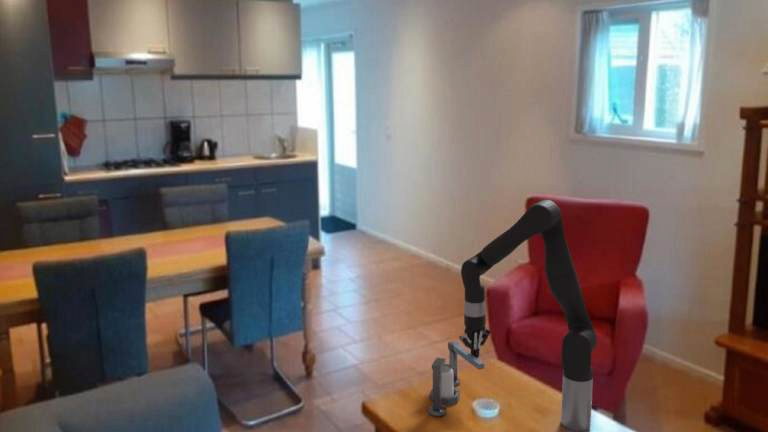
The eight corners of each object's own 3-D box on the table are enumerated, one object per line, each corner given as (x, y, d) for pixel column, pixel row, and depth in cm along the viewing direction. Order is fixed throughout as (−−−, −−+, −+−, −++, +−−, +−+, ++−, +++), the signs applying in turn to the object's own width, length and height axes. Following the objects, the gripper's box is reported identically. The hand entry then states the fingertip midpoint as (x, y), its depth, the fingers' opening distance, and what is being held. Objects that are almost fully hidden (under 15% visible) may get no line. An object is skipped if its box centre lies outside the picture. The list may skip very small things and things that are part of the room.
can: (452, 403, 219) (452, 372, 217) (434, 402, 221) (434, 371, 218) (454, 394, 226) (454, 364, 223) (436, 393, 227) (436, 362, 224)
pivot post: (461, 381, 236) (461, 347, 233) (458, 387, 231) (458, 353, 228) (448, 379, 237) (448, 346, 234) (445, 385, 233) (445, 351, 230)
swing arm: (445, 347, 232) (446, 342, 232) (455, 345, 234) (455, 340, 233) (476, 370, 213) (476, 365, 213) (486, 368, 215) (486, 362, 215)
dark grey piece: (449, 407, 217) (449, 359, 213) (443, 418, 210) (443, 369, 206) (432, 404, 219) (432, 356, 215) (426, 415, 212) (425, 366, 208)
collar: (462, 393, 226) (462, 387, 225) (455, 407, 217) (455, 400, 216) (435, 389, 229) (435, 383, 229) (427, 402, 220) (427, 396, 220)
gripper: (482, 304, 226) (482, 349, 230) (453, 313, 219) (453, 358, 223) (496, 311, 219) (496, 356, 223) (466, 319, 213) (467, 366, 217)
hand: (475, 357), depth 223 cm, fingers closed
